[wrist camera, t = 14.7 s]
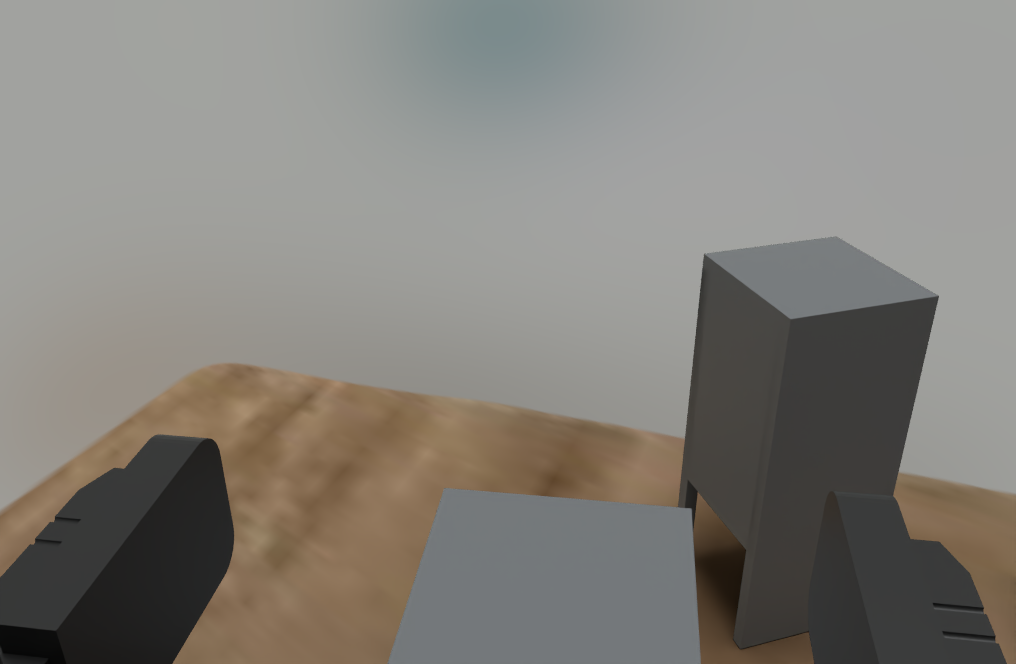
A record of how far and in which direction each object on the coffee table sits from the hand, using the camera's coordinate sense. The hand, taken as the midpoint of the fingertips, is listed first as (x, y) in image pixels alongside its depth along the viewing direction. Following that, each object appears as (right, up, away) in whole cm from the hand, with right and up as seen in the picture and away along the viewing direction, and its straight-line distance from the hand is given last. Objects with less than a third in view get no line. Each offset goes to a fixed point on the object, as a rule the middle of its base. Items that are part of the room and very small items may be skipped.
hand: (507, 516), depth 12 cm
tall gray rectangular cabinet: (+12, -9, +32) cm, 36 cm away
